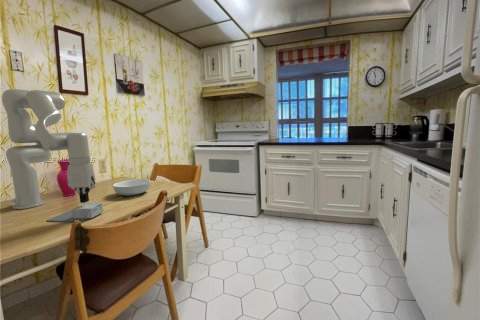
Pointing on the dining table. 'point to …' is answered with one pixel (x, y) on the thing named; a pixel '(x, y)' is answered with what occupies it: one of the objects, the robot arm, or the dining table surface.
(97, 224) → the dining table surface
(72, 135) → the robot arm
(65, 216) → the slate mat
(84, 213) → the medicine box
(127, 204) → the dining table surface
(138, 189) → the serving bowl
